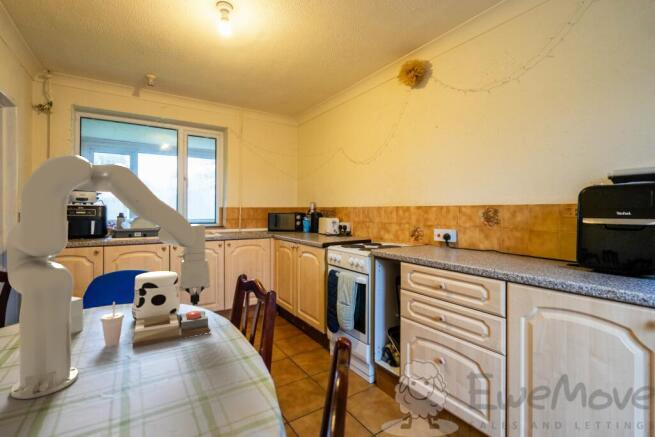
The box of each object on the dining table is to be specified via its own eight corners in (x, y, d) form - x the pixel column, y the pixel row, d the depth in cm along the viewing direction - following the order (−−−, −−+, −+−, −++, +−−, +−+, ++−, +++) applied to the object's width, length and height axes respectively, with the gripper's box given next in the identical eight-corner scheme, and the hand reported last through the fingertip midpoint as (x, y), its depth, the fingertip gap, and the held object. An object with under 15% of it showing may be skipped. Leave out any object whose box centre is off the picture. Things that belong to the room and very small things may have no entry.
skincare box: (58, 332, 106) (58, 299, 106) (72, 327, 110) (72, 296, 110) (70, 334, 104) (70, 301, 104) (83, 329, 109) (83, 298, 108)
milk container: (187, 311, 131) (187, 271, 130) (165, 326, 113) (165, 280, 113) (148, 310, 131) (149, 270, 130) (121, 325, 114) (121, 279, 113)
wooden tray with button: (210, 333, 108) (210, 320, 108) (132, 347, 96) (132, 332, 96) (204, 320, 121) (204, 308, 120) (135, 331, 108) (135, 318, 108)
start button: (201, 322, 111) (201, 314, 111) (186, 324, 108) (187, 316, 108) (199, 318, 115) (199, 310, 115) (185, 320, 113) (185, 312, 113)
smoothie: (128, 340, 101) (128, 300, 101) (113, 349, 95) (113, 306, 94) (111, 339, 102) (111, 299, 101) (95, 347, 95) (95, 305, 95)
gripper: (173, 260, 104) (173, 310, 105) (217, 256, 112) (217, 304, 113) (171, 256, 111) (172, 304, 111) (213, 253, 118) (213, 298, 119)
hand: (194, 304), depth 112 cm, fingers closed
